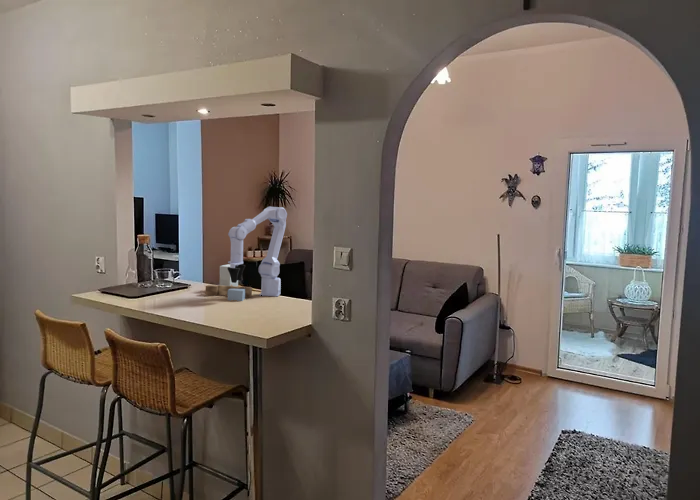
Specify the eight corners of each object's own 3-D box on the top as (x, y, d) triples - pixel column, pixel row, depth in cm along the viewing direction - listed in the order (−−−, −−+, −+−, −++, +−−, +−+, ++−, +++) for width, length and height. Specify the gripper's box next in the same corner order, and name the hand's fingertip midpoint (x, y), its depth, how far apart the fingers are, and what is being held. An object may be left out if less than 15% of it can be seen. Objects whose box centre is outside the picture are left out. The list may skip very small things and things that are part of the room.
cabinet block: (244, 299, 256) (245, 289, 256) (242, 301, 252) (242, 290, 251) (229, 298, 257) (229, 288, 256) (226, 300, 252) (226, 289, 252)
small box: (227, 288, 281) (228, 264, 280) (238, 289, 279) (238, 265, 278) (218, 291, 274) (219, 265, 272) (229, 292, 272) (230, 266, 270)
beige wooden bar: (251, 296, 264) (252, 287, 263) (250, 297, 260) (250, 288, 260) (207, 293, 265) (208, 284, 265) (205, 295, 262) (205, 286, 261)
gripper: (232, 250, 259) (232, 278, 260) (223, 253, 245) (223, 283, 246) (247, 251, 259) (246, 279, 260) (239, 254, 244) (238, 284, 246)
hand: (236, 281), depth 253 cm, fingers open, 7 cm apart
